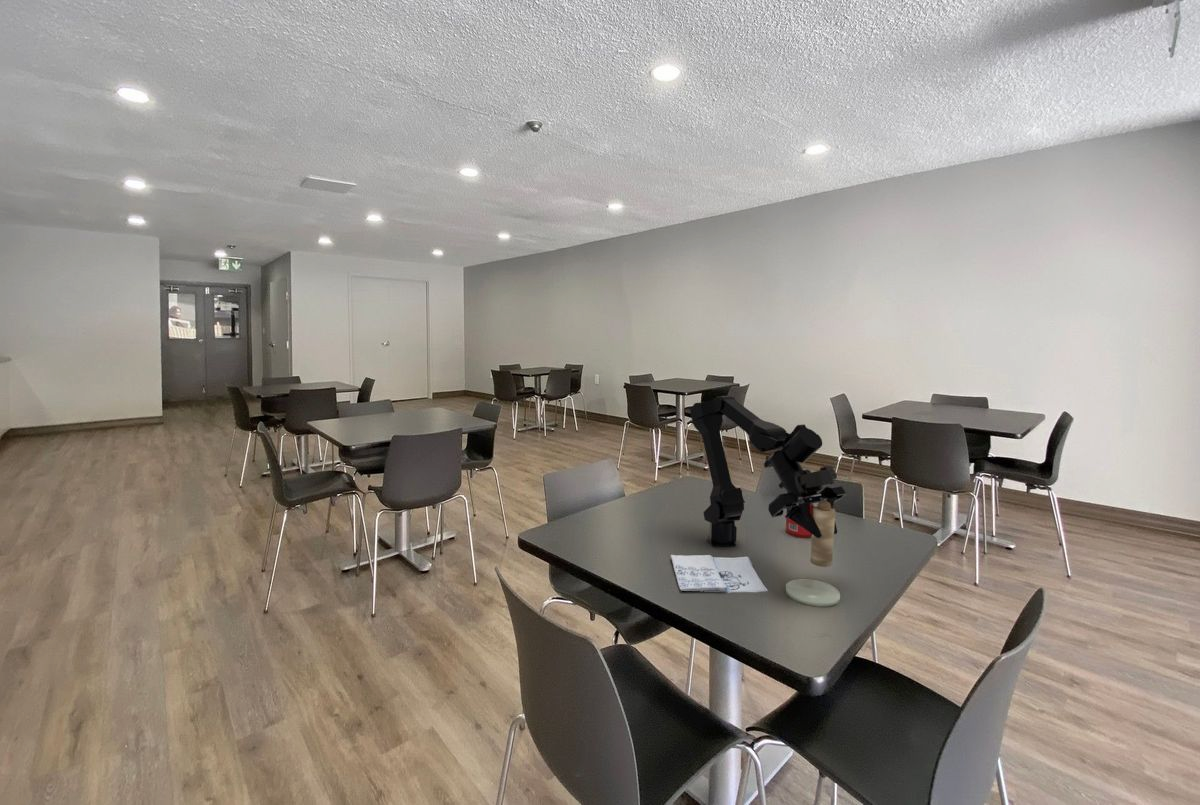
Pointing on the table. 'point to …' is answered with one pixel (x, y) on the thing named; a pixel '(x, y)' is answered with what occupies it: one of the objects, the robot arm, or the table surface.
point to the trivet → (813, 592)
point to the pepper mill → (823, 535)
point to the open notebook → (716, 574)
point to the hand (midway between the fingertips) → (827, 535)
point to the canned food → (798, 527)
